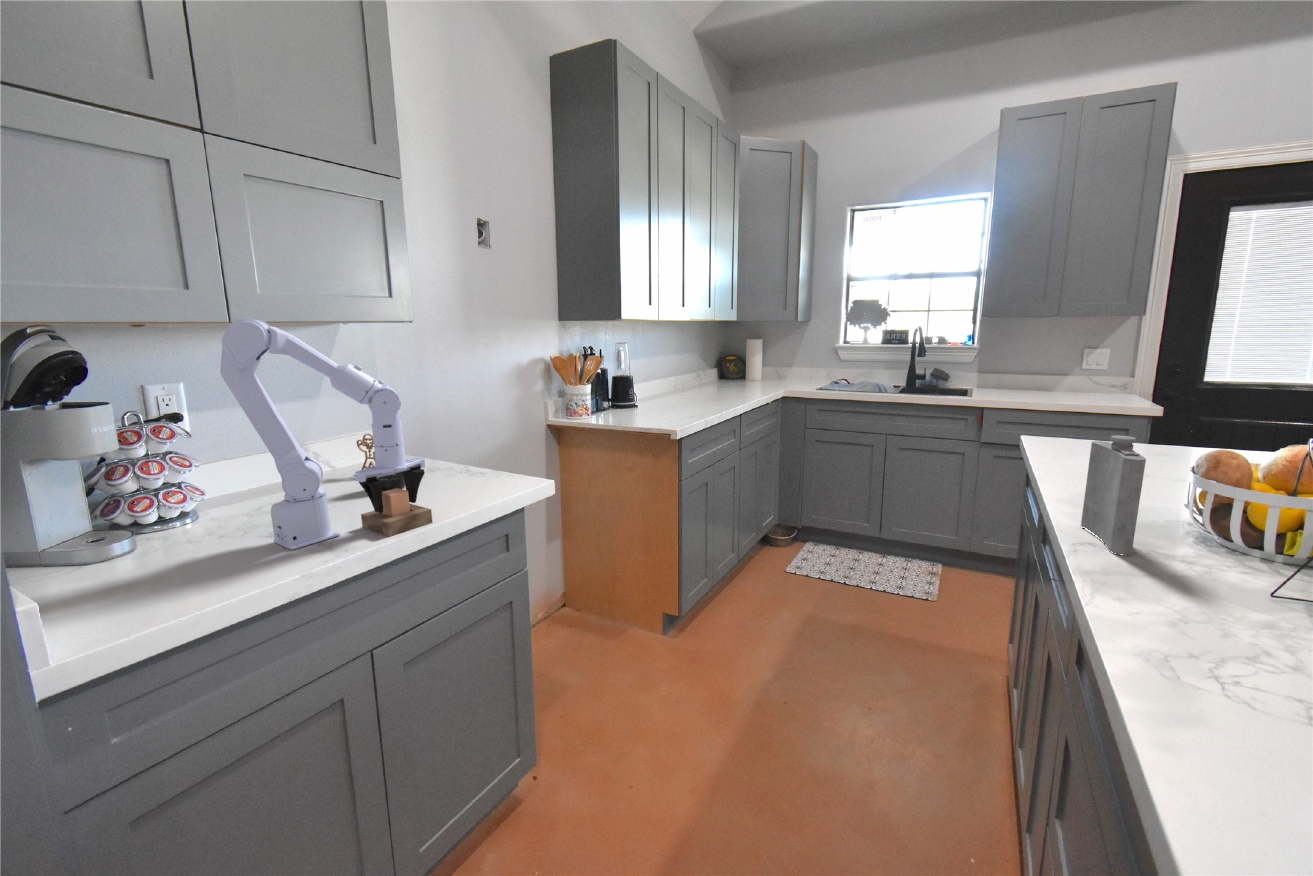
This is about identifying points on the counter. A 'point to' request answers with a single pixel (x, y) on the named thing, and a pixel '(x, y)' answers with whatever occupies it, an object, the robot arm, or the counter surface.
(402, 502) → the peg
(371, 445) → the gingerbread man figurine
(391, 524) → the socket block
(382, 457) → the robot arm
